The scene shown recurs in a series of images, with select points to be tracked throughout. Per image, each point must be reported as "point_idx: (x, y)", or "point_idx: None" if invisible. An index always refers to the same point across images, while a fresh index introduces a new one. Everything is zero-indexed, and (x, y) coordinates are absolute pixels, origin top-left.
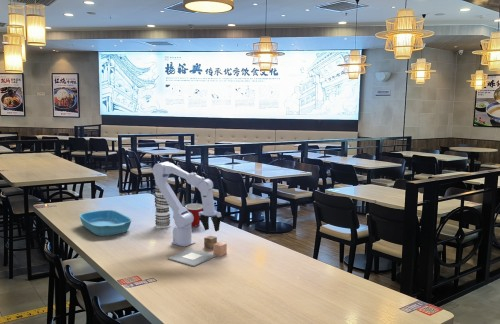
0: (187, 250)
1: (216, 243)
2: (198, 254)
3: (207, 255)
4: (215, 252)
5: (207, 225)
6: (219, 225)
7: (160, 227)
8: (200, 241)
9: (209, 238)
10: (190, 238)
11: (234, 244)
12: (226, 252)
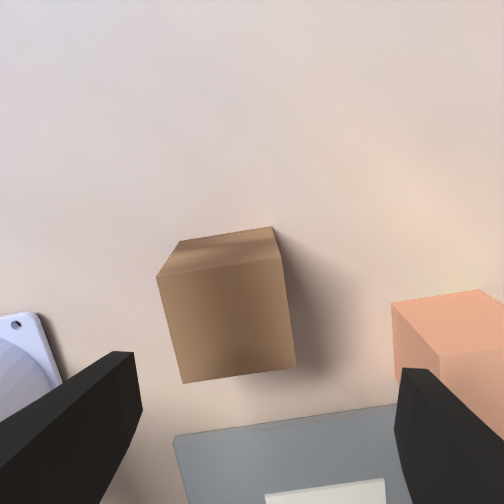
0: (193, 486)
1: None
2: (339, 489)
3: None
4: None
5: (92, 425)
6: (499, 440)
7: None
8: (23, 241)
9: (254, 359)
10: (15, 407)
11: (370, 23)
12: (484, 294)
